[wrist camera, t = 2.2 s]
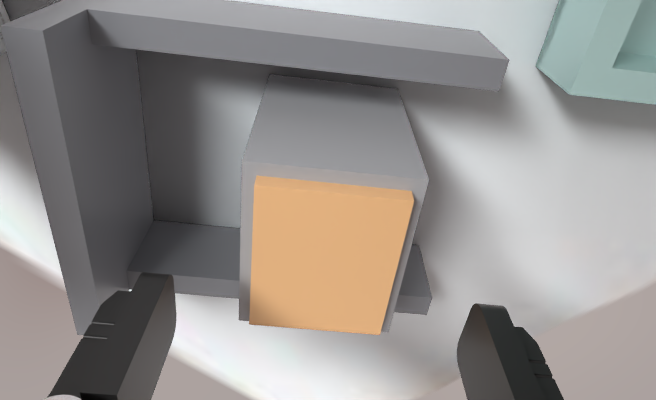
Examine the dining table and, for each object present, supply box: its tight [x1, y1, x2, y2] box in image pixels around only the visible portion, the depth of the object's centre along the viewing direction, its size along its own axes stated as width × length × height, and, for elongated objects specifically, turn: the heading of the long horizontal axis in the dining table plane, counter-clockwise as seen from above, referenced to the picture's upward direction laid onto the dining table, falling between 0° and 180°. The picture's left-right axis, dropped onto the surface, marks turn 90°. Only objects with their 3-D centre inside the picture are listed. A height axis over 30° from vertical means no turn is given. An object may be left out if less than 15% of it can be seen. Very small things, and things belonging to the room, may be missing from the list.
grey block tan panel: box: [239, 74, 429, 335], centre depth 17 cm, size 6×5×8 cm
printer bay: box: [0, 0, 509, 335], centre depth 17 cm, size 11×14×6 cm
